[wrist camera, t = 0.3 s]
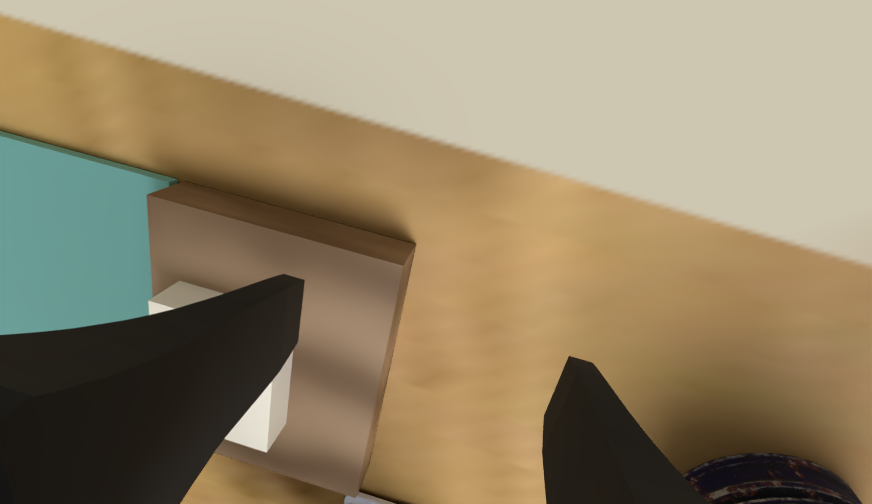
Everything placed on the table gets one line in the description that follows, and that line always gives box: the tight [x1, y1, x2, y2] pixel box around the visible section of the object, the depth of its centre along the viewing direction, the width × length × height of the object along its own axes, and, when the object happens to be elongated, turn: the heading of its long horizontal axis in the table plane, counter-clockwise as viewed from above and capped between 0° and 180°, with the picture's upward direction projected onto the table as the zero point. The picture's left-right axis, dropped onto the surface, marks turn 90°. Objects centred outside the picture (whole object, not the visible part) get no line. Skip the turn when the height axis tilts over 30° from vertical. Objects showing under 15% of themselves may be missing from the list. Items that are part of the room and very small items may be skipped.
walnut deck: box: [146, 181, 416, 498], centre depth 24 cm, size 15×12×2 cm
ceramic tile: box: [148, 281, 293, 453], centre depth 22 cm, size 7×6×2 cm
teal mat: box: [0, 131, 177, 335], centre depth 26 cm, size 15×14×1 cm
